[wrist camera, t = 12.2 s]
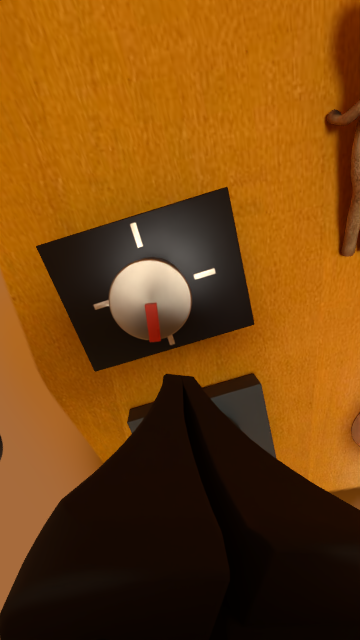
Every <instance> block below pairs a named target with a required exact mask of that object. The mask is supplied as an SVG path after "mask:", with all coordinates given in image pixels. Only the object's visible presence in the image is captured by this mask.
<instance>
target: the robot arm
mask: <svg viewBox="0 0 360 640" xmlns="http://www.w3.org/2000/svg"><path fill="white" fill-rule="evenodd" d="M0 640H360V510H359V509H357V508H355V507H353V506H352V505H350V504H348V503H346V502H344V501H343V500H341V499H339V498H338V497H336V496H334V495H332V494H331V493H329V492H327V491H325V490H324V489H322V488H320V487H319V486H317V485H315V484H314V483H312V482H310V481H309V480H307V479H306V478H304V477H303V476H301V475H300V474H298V473H296V472H295V471H293V470H292V469H290V468H289V467H287V466H286V465H285V464H283V463H282V462H280V461H279V460H277V459H276V458H275V457H273V456H272V455H271V454H269V453H268V452H267V451H265V450H264V449H263V448H261V447H260V446H259V445H258V444H256V443H255V442H254V441H253V440H252V439H250V438H249V437H248V436H247V435H246V434H245V433H244V432H242V431H241V430H240V429H239V428H238V427H237V426H236V425H235V424H234V423H233V422H232V421H231V420H230V419H229V418H228V417H227V416H226V415H225V414H224V413H223V412H222V411H221V410H220V409H219V408H218V407H217V406H216V404H215V403H214V402H213V401H212V400H211V399H210V397H209V396H208V395H207V394H206V393H205V391H204V390H203V389H202V388H201V386H200V385H199V384H198V382H197V381H196V380H195V378H194V377H192V376H182V375H172V374H166V375H164V377H163V384H162V387H161V389H160V391H159V393H158V396H157V398H156V400H155V401H154V403H153V405H152V406H151V408H150V410H149V411H148V413H147V415H146V416H145V417H144V419H143V420H142V422H141V423H140V424H139V426H138V427H137V428H136V430H135V431H134V432H133V433H132V434H131V436H130V437H129V438H128V439H127V440H126V441H125V443H124V444H123V445H122V446H121V447H120V448H119V449H118V450H117V451H116V452H115V453H114V454H113V455H112V456H111V457H110V458H109V459H108V460H107V461H106V462H105V463H104V464H103V465H102V466H101V467H100V468H99V469H98V470H96V471H95V472H94V473H93V474H92V475H91V476H90V477H88V478H87V479H86V480H85V481H83V482H82V483H81V484H80V485H79V486H77V488H75V489H74V490H73V491H71V492H70V493H69V494H68V495H67V496H65V497H64V498H63V499H62V500H61V501H60V502H59V504H58V505H57V507H56V508H55V510H54V511H53V513H52V514H51V516H50V517H49V519H48V520H47V522H46V524H45V525H44V527H43V528H42V530H41V532H40V534H39V535H38V537H37V538H36V540H35V542H34V544H33V546H32V547H31V549H30V551H29V553H28V555H27V556H26V558H25V560H24V562H23V564H22V567H21V569H20V571H19V573H18V575H17V577H16V580H15V582H14V584H13V586H12V588H11V591H10V593H9V595H8V597H7V600H6V602H5V604H4V606H3V609H2V610H1V613H0Z"/></svg>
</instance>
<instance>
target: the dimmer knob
mask: <svg viewBox="0 0 360 640" xmlns="http://www.w3.org/2000/svg"><path fill="white" fill-rule="evenodd" d="M191 306H192V295H191V290H190V287H189V284H188V282H187V280H186V279H185V277H184V276H183V275H182V273H181V272H180V271H179V270H178V268H177V267H176V266H175V265H174V264H172V263H171V262H169V261H167V260H165V259H162V258H158V257H149V258H144V259H141V260H138V261H135V262H132V263H130V264H128V265H127V266H125V267H124V268H123V269H121V270H120V271H119V273H118V274H117V275H116V276H115V278H114V279H113V282H112V284H111V287H110V290H109V307H110V311H111V313H112V316H113V318H114V319H115V321H116V322H117V324H118V325H119V326H120V327H121V328H122V329H123V330H124V331H125V332H127V333H128V334H130V335H132V336H134V337H137V338H140V339H144V340H149V341H150V342H158V341H161V339H163V338H166V337H168V336H170V335H172V334H174V333H175V332H177V331H178V330H179V329H180V328H181V327H182V326H183V325H184V323H185V322H186V320H187V319H188V316H189V314H190V311H191Z"/></svg>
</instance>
